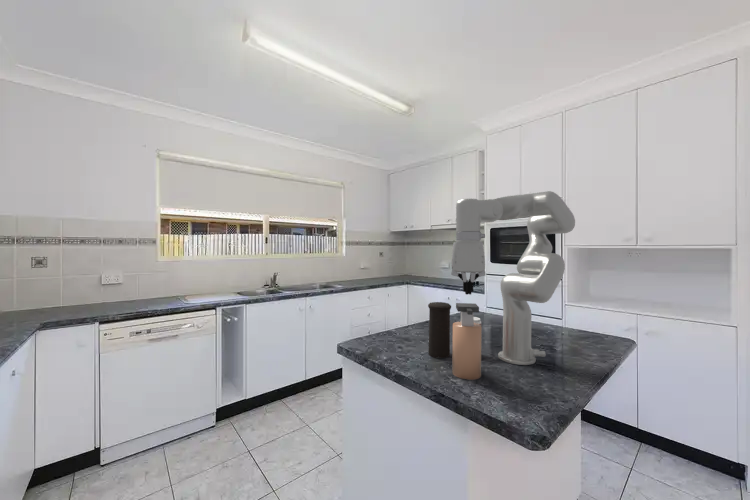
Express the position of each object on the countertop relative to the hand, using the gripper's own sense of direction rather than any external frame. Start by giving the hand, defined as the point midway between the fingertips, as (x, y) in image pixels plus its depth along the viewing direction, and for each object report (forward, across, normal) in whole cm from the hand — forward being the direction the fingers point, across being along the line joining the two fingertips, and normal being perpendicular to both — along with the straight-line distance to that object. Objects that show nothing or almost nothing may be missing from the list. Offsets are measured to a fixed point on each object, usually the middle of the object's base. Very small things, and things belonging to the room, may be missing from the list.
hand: (468, 293), depth 103 cm
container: (+26, +9, -16) cm, 32 cm away
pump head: (+10, 0, +2) cm, 10 cm away
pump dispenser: (+26, +1, 0) cm, 26 cm away
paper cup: (+27, -3, -18) cm, 33 cm away
